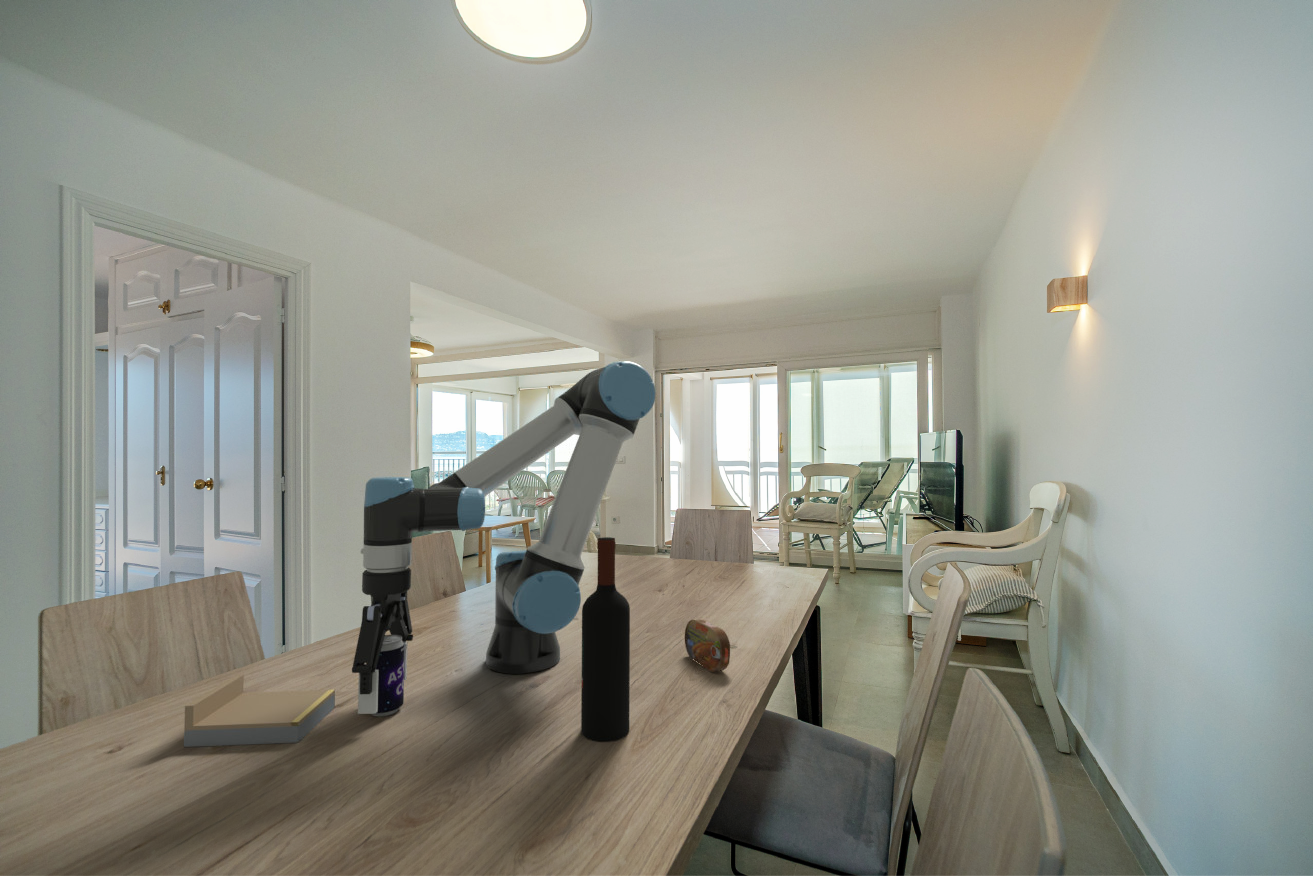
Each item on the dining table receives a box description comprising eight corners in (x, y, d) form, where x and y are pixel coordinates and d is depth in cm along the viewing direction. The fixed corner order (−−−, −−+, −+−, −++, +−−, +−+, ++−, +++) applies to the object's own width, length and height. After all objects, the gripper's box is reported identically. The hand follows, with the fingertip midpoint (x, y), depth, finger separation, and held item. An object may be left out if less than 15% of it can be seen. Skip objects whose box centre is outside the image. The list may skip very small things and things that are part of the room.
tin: (683, 654, 126) (683, 615, 126) (696, 652, 128) (696, 613, 128) (719, 678, 113) (719, 634, 113) (733, 676, 114) (733, 632, 114)
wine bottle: (591, 746, 86) (592, 543, 87) (574, 725, 93) (575, 537, 94) (637, 735, 90) (638, 540, 91) (617, 715, 96) (618, 534, 97)
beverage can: (389, 720, 95) (390, 645, 95) (358, 716, 96) (359, 643, 96) (410, 705, 100) (411, 635, 100) (381, 702, 101) (382, 633, 102)
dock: (334, 707, 99) (335, 672, 99) (297, 742, 87) (298, 702, 87) (235, 711, 98) (236, 675, 98) (184, 747, 86) (184, 705, 86)
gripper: (391, 555, 111) (388, 668, 110) (329, 584, 86) (325, 730, 85) (431, 555, 111) (429, 667, 111) (382, 584, 87) (378, 728, 86)
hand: (383, 695), depth 98 cm, fingers open, 13 cm apart
